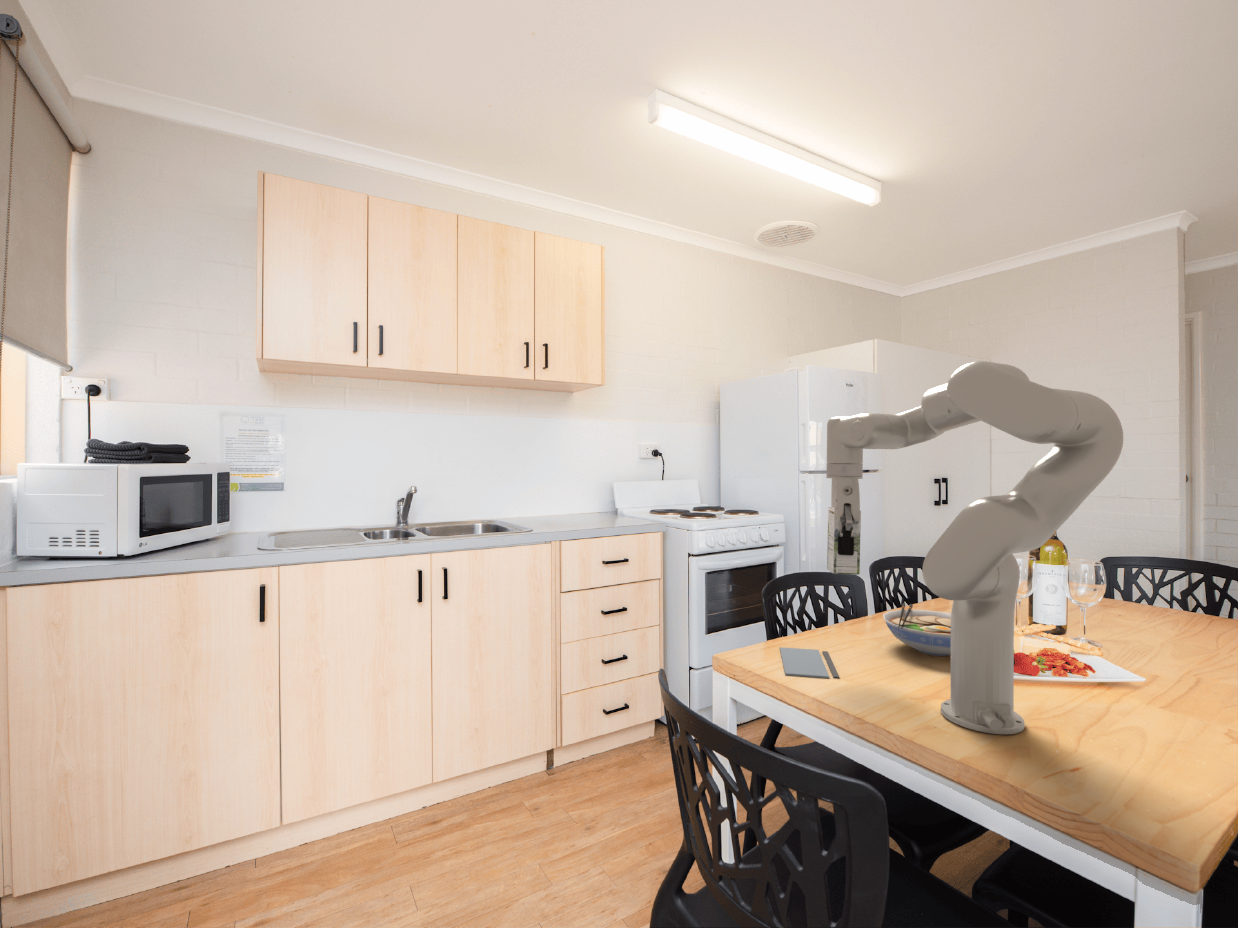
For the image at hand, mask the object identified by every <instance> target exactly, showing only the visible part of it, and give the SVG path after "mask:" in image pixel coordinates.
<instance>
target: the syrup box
mask: <svg viewBox="0 0 1238 928" xmlns="http://www.w3.org/2000/svg"><path fill="white" fill-rule="evenodd" d="M827 511H828V512H827V552H826V553H827V557H826V561H827V562H826V563H827V564H826V569H827V570H828V571H829V572H831V573H832V574H833V575H855V576H857V575H860V574H861V573H860V571H861V569H860V567H861V565H860V564H861V562H860V561H861V531H862V529H861V527H862V522H861V521H862V511H861V510H860V523H859V524H856V523H857V522H855V521H853V533H854V536H853V537H854V555H839V554H838V536H840V535H839V523H837V522H836V515H835V509H834V508H833V507H831V506H830V507H828V509H827ZM853 520H854V518H853ZM841 522H845V520H844V519H841ZM842 528H843V526H842Z"/></svg>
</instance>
